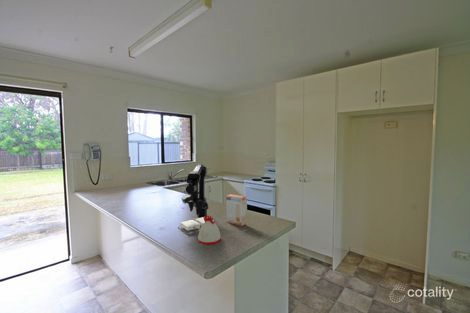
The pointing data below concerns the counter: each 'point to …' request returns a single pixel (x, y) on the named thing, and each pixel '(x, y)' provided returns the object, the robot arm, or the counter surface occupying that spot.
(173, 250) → the counter surface
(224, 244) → the counter surface
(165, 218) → the counter surface
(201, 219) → the block
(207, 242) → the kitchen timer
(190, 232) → the switch base
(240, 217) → the translucent upright frame
